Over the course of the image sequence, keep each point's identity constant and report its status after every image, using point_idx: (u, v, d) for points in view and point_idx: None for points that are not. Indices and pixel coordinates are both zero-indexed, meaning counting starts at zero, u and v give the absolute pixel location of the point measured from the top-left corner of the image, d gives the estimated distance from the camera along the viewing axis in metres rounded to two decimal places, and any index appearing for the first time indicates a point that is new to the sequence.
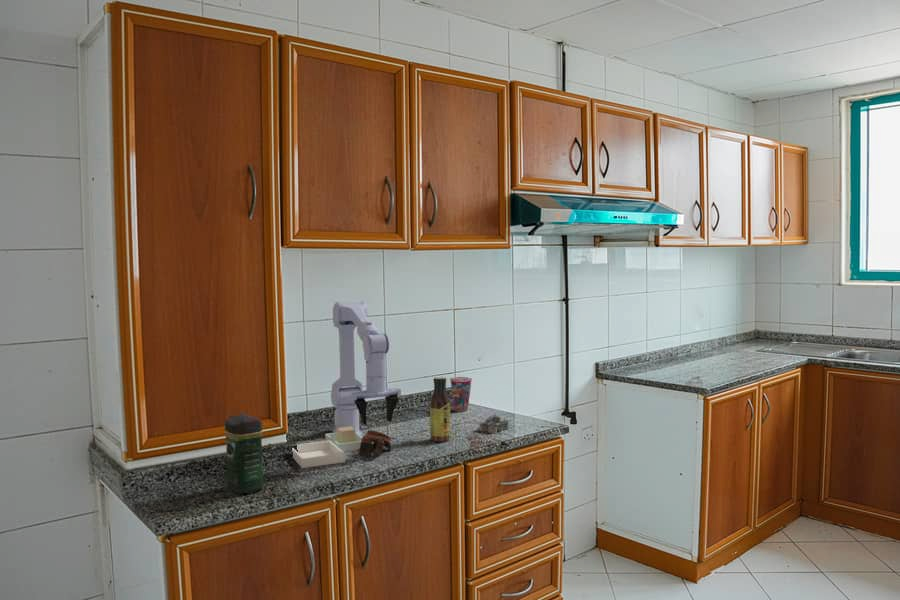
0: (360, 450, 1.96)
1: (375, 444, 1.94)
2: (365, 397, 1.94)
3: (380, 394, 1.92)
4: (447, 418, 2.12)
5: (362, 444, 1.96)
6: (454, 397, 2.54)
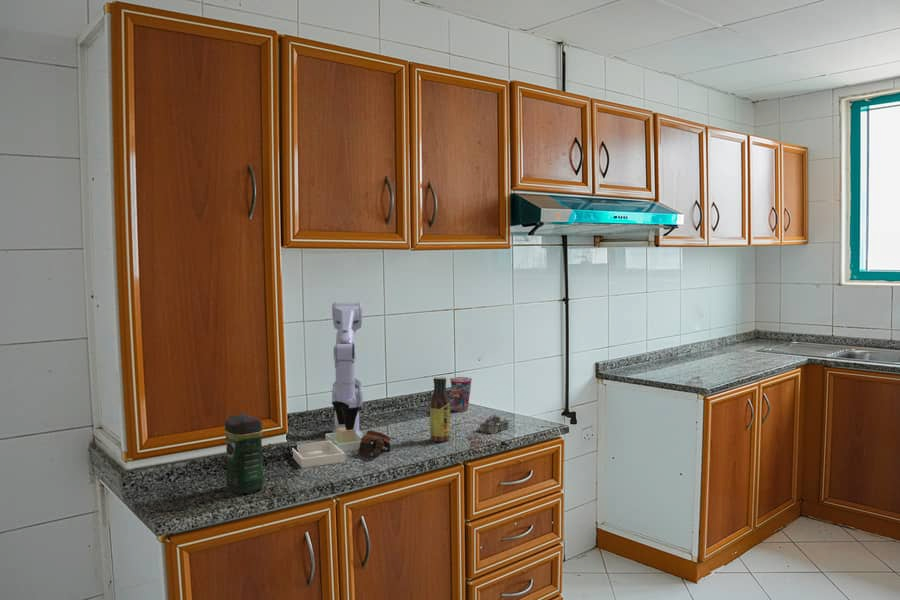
0: (359, 450, 1.96)
1: (374, 444, 1.94)
2: None
3: (332, 399, 2.04)
4: (447, 418, 2.12)
5: (361, 444, 1.96)
6: (454, 397, 2.54)
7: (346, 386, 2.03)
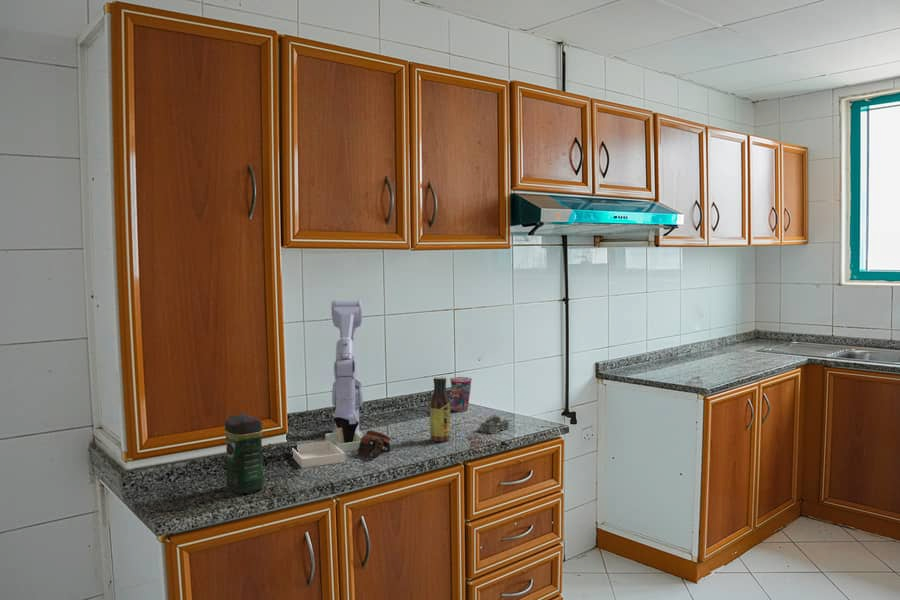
0: (359, 450, 1.96)
1: (374, 444, 1.94)
2: None
3: (332, 414, 2.05)
4: (447, 418, 2.12)
5: (361, 444, 1.96)
6: (454, 397, 2.54)
7: (346, 402, 2.03)
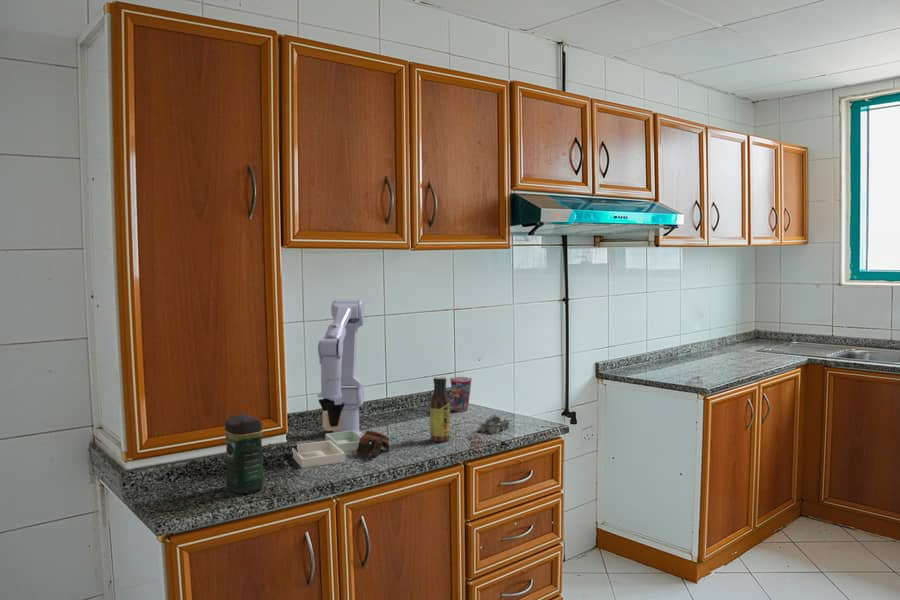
0: (358, 450, 1.95)
1: (373, 444, 1.94)
2: None
3: (317, 395, 1.98)
4: (447, 418, 2.12)
5: (360, 444, 1.96)
6: (454, 397, 2.54)
7: (332, 382, 1.96)
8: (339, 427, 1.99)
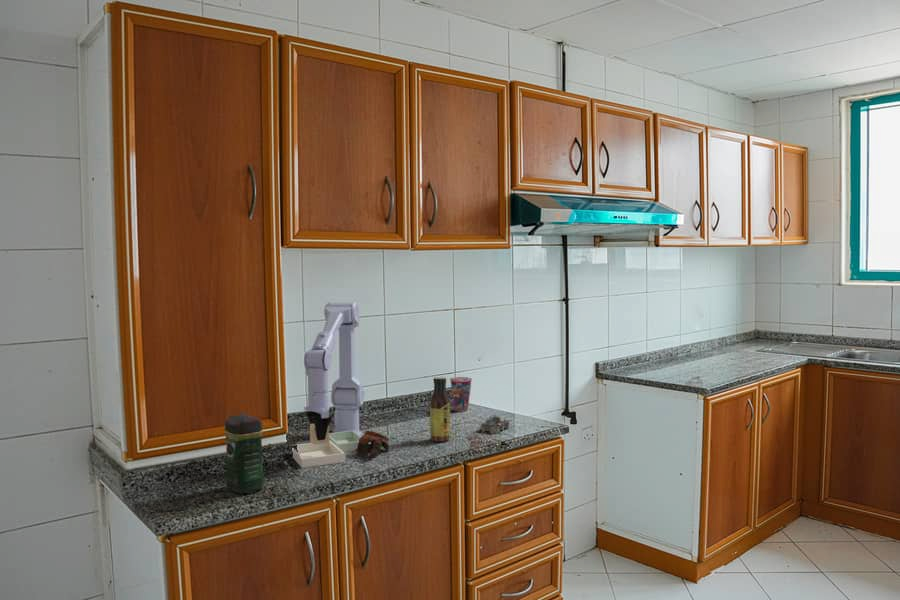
0: (357, 450, 1.95)
1: (372, 444, 1.94)
2: None
3: (304, 408, 1.93)
4: (447, 418, 2.12)
5: (359, 444, 1.95)
6: (454, 397, 2.54)
7: (319, 395, 1.91)
8: (327, 441, 1.93)
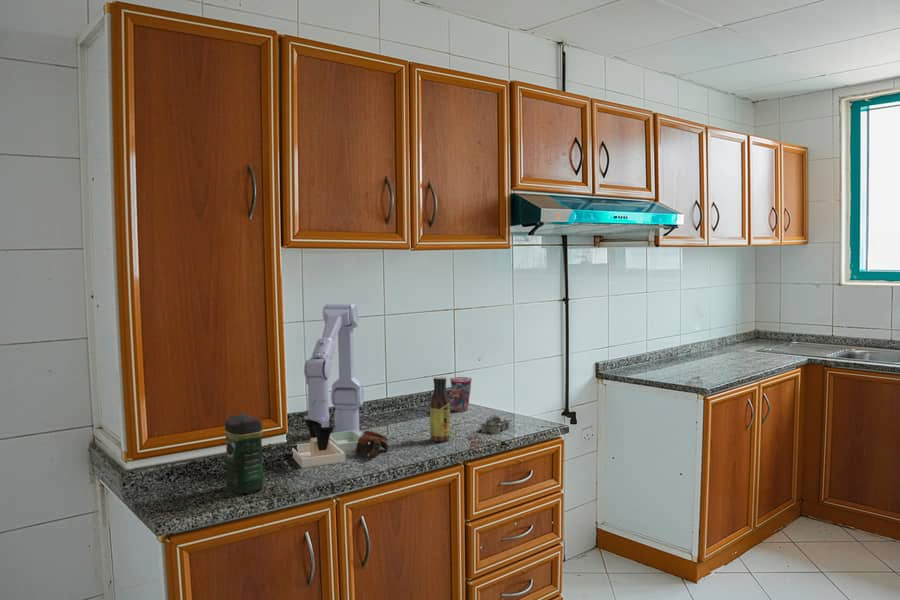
0: (356, 451, 1.95)
1: (371, 445, 1.94)
2: None
3: (304, 417, 1.93)
4: (447, 418, 2.12)
5: (358, 445, 1.95)
6: (454, 397, 2.54)
7: (319, 404, 1.91)
8: None
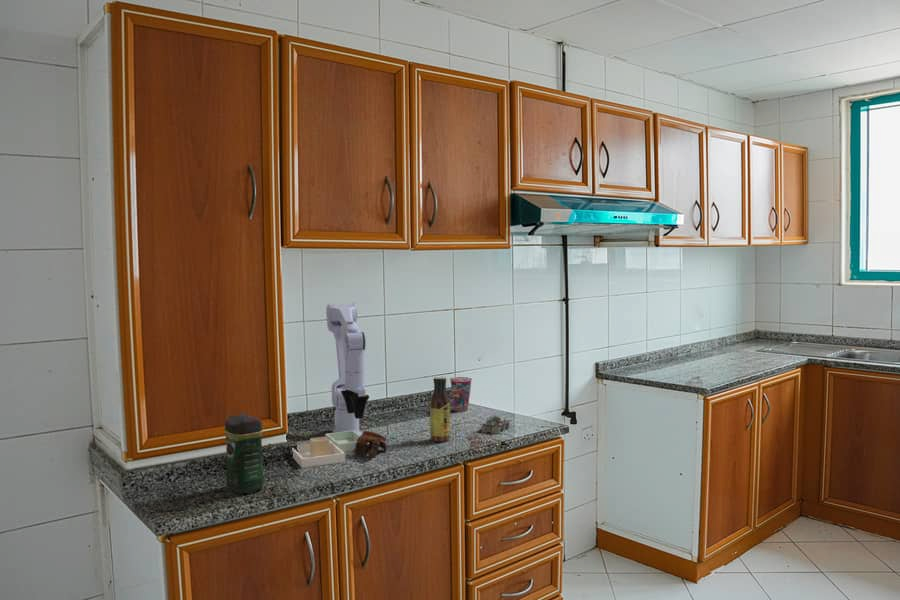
0: (355, 451, 1.95)
1: (370, 445, 1.94)
2: None
3: (341, 387, 2.05)
4: (447, 418, 2.12)
5: (357, 445, 1.95)
6: (454, 397, 2.54)
7: (355, 375, 2.04)
8: None
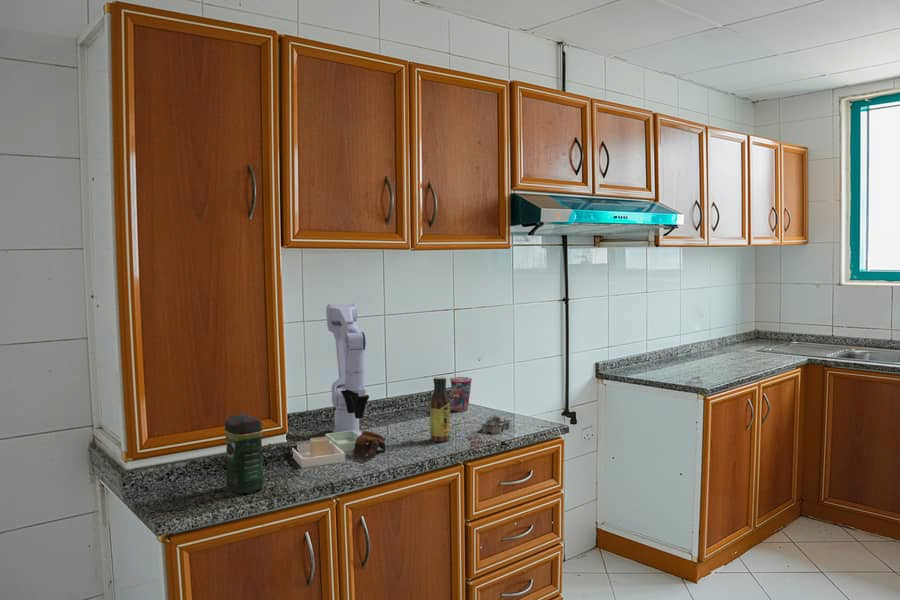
0: (354, 451, 1.95)
1: (369, 445, 1.94)
2: None
3: (342, 387, 2.05)
4: (447, 418, 2.12)
5: (356, 445, 1.95)
6: (454, 397, 2.54)
7: (355, 375, 2.04)
8: None
